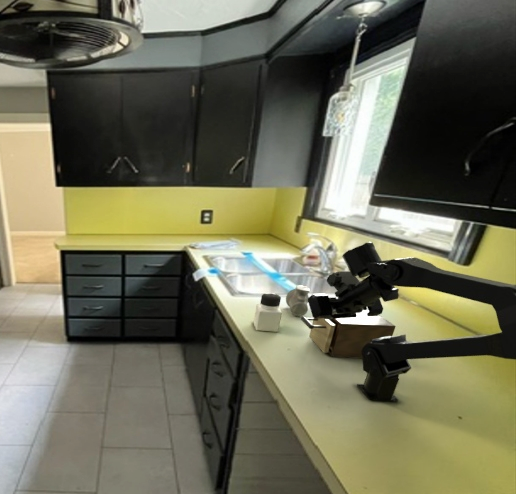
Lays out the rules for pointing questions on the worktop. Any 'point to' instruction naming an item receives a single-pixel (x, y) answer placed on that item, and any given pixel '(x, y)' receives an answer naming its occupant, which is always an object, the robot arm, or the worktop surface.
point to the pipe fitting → (298, 300)
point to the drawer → (322, 332)
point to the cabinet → (359, 334)
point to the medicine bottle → (268, 313)
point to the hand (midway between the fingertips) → (325, 317)
